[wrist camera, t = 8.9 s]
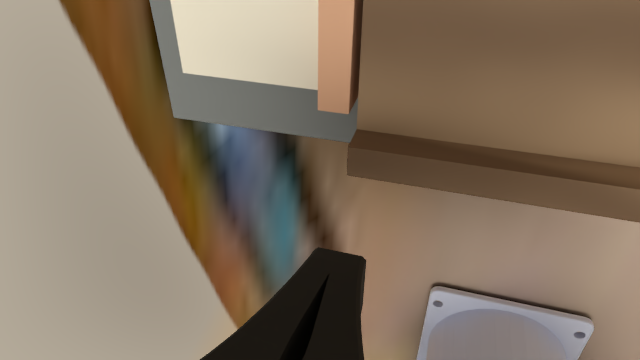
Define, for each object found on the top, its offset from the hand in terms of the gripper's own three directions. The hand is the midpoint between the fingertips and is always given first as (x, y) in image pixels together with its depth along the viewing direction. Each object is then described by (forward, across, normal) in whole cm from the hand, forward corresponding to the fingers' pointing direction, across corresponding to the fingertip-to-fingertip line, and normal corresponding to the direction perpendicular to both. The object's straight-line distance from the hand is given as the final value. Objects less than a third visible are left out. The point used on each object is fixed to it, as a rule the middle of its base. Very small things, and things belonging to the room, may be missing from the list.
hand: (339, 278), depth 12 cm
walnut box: (+9, -4, -5) cm, 11 cm away
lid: (+9, +5, -5) cm, 12 cm away
